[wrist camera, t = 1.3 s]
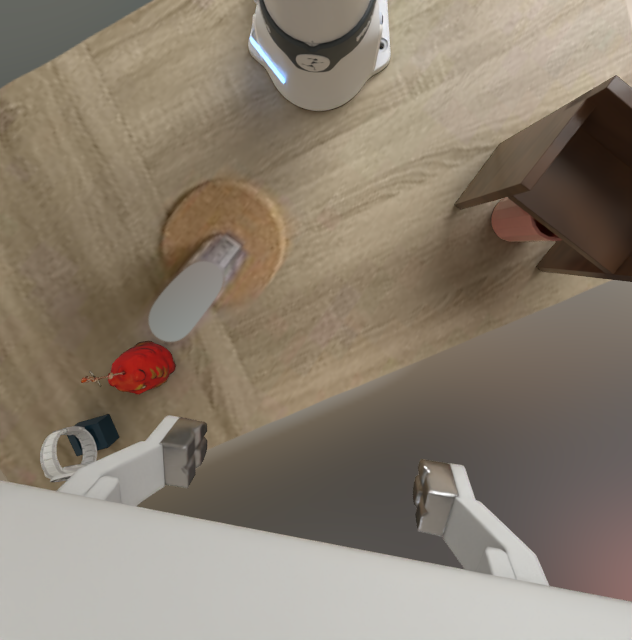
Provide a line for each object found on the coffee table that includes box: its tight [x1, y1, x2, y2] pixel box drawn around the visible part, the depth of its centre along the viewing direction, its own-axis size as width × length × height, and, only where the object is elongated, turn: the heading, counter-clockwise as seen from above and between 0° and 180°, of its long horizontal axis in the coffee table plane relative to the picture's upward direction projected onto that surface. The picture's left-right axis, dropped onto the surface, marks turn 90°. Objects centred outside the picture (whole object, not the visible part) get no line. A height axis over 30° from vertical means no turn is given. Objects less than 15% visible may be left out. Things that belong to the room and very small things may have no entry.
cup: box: [491, 197, 562, 242], centre depth 49 cm, size 7×7×10 cm
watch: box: [40, 414, 119, 482], centre depth 57 cm, size 6×8×11 cm
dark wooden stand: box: [455, 75, 632, 282], centre depth 43 cm, size 10×16×21 cm, turn 55°
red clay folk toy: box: [81, 341, 176, 394], centre depth 52 cm, size 8×7×15 cm
